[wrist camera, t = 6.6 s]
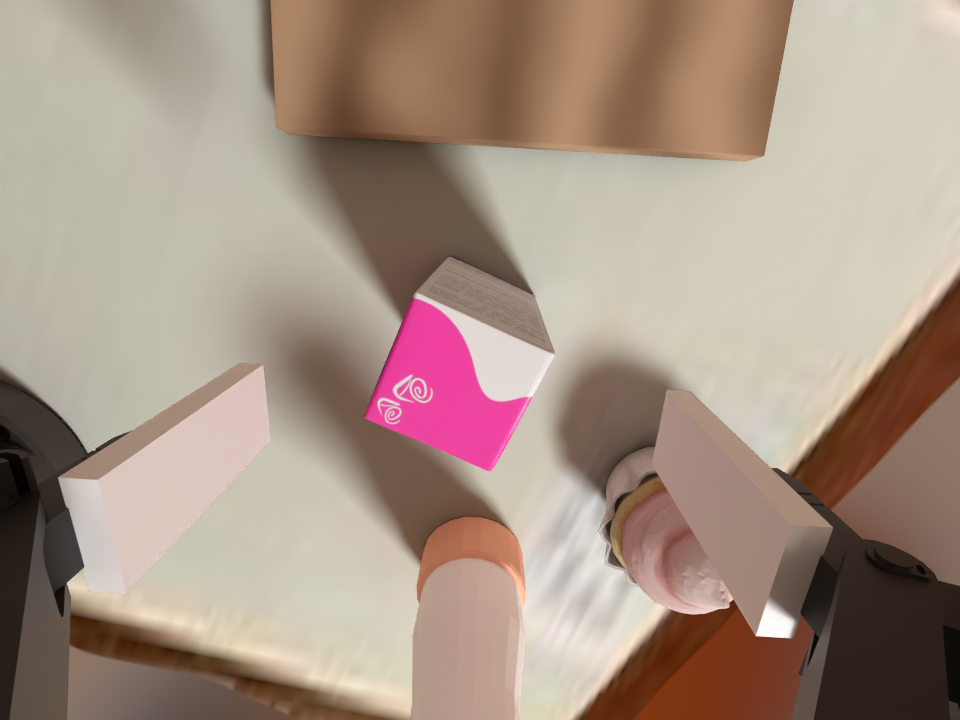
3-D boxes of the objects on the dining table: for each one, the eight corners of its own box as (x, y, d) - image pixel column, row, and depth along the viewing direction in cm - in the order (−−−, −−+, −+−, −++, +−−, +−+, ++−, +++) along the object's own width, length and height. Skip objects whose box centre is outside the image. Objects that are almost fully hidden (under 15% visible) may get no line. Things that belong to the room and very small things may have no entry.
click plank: (778, -16, 22) (800, -36, 21) (746, 161, 24) (764, 155, 23) (282, -46, 22) (267, -68, 21) (289, 134, 24) (276, 126, 23)
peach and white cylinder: (402, 555, 34) (302, 960, 16) (473, 497, 32) (452, 877, 14) (472, 611, 36) (454, 1038, 17) (543, 559, 34) (605, 971, 16)
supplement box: (445, 251, 27) (416, 285, 16) (536, 294, 28) (567, 354, 17) (408, 339, 29) (359, 421, 18) (495, 377, 29) (498, 479, 18)
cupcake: (666, 560, 34) (735, 700, 24) (558, 505, 32) (586, 630, 23) (751, 464, 31) (867, 579, 22) (637, 399, 30) (708, 491, 20)
